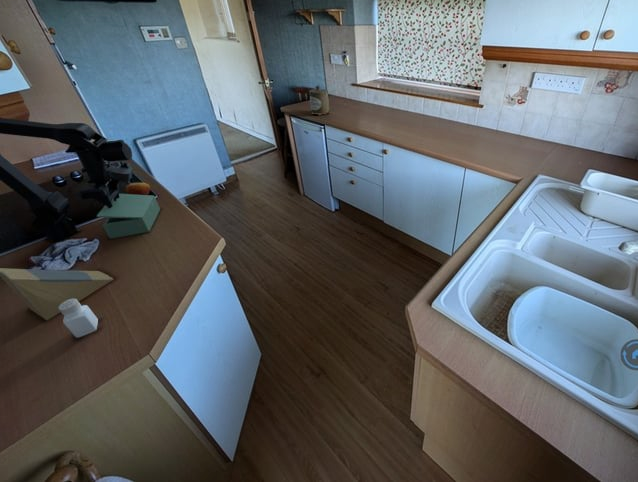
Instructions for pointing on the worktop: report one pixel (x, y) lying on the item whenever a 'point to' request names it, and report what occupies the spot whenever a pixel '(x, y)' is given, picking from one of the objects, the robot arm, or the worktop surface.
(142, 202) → the bin lid
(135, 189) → the fruit
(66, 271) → the sandwich container
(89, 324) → the white pill bottle
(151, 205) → the green lidded box
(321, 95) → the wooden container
